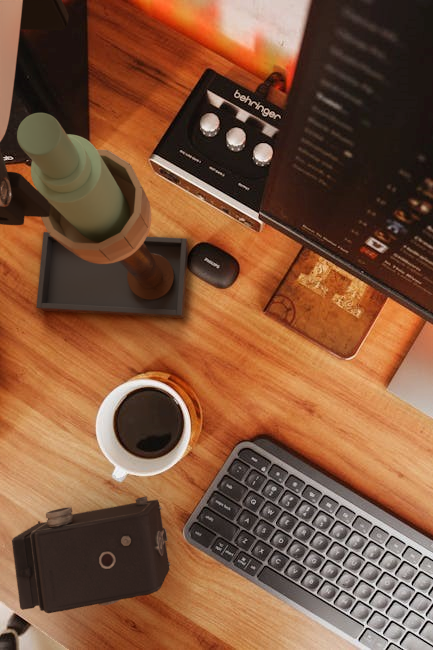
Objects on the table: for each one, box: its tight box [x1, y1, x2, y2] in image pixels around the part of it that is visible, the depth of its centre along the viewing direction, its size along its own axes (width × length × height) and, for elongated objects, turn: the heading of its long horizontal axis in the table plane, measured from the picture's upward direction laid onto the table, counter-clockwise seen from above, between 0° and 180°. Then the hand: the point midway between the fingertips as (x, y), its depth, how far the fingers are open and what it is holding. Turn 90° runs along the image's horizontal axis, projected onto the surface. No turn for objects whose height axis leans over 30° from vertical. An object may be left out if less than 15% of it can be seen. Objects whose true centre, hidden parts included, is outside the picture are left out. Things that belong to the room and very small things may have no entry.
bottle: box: [16, 112, 130, 242], centre depth 36 cm, size 4×4×14 cm
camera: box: [11, 496, 172, 614], centre depth 59 cm, size 11×11×15 cm
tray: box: [36, 231, 189, 319], centre depth 67 cm, size 17×9×2 cm, turn 87°
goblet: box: [40, 148, 175, 301], centre depth 53 cm, size 7×7×28 cm
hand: (29, 115), depth 28 cm, fingers open, 9 cm apart
